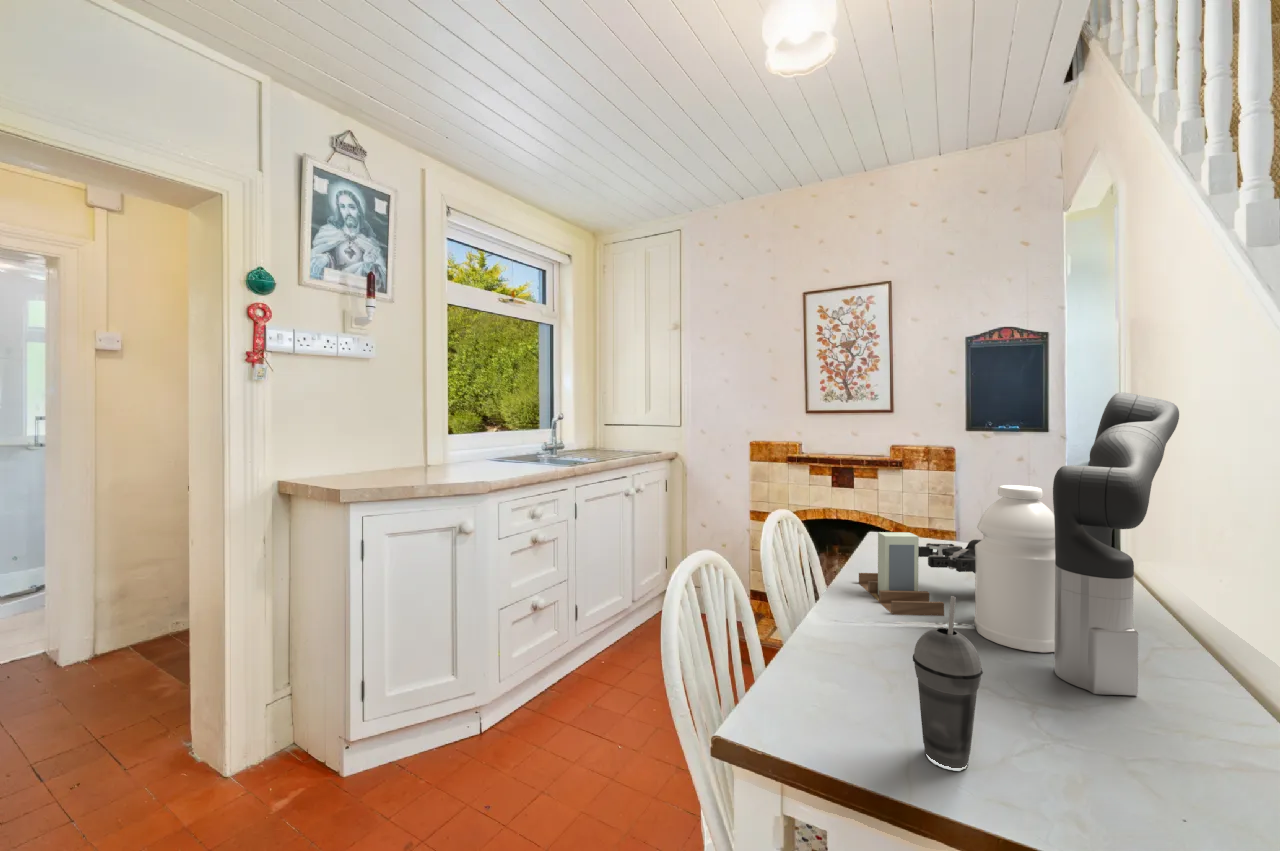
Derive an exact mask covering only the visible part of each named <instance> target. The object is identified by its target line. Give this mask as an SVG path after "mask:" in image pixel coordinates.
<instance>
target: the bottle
mask: <svg viewBox="0 0 1280 851" xmlns="http://www.w3.org/2000/svg"><path fill="white" fill-rule="evenodd" d="M997 495H998V496H1000V497H1001V498H999V499H997V500H995V501H994V502H993V503H992V504H991V505H990V506H989V507H988V508H986V510H985V511H984V512H983V514H982V515H981V516H980V519H979V520H978V523H977V525H976V528H977V530H978V531H979V532H980V533H981V534H983V536H982V537H983V538H981V539H980V540H981V541H980V542H978V543H977V544H976V545H975V573H974V574H975V575H974V576H975V577H974V579H975V581H974V582H975V583H974V586H975V588H974V589H975V590H974V592H975V593H974V598H975V601H974V602H975V604H974V606H975V610H974V615H975V616H974V618H973V621H974V626H975V630H976V631H977V633H978V634H979V635H981V636H982V637H984V638H985V639H986V640H989V641H991V642H994V643H996V644H998V645H1000V646H1005V647H1008V648H1011V649H1016V650H1021V651H1026V652H1033V653H1034V652H1035V653H1055V647H1054V637H1055V565H1056V564H1055V521H1054V511H1052V510H1051V508H1049V507H1048V506H1047V505H1046V504H1045V503H1044V502H1042V501H1041V499H1043V498H1044V491H1043V489H1042V488H1040V487H1037V486H1030V485H1018V484H1016V485H1015V484H1003V485H1000V486H999V487H998V490H997Z"/></svg>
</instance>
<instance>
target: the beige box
mask: <svg viewBox="0 0 1280 851" xmlns="http://www.w3.org/2000/svg"><path fill="white" fill-rule="evenodd" d="M919 538H920V537H919V536H918V535H916V534H914V533H912V532H905V531H904V532H903V531H902V532H900V531H898V532H893V531H892V532H890V531H885V532H884V531H882V532H881V531H878V532H877V573H878V595H879V590H892V591H919V557H918V550H919Z"/></svg>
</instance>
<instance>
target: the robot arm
mask: <svg viewBox="0 0 1280 851" xmlns="http://www.w3.org/2000/svg"><path fill="white" fill-rule="evenodd" d="M1179 420H1180V410H1179V408H1178V406H1177V405H1176V404H1175V403H1174V402H1171V401H1168V400H1164V399H1161V398H1155V397H1149V396H1144V395H1140V394H1139V395H1138V394H1133V393H1128V392H1117V393H1115V394H1113V395H1112V396H1111V398H1110V399H1109V400H1108V402H1107V404H1106V406H1105V407H1104V410H1103V412H1102V416H1101V418H1100V422H1099V425H1098V428H1097V432H1096V435H1095V438H1094V442H1093V444H1092V445H1091V448H1090V450H1089V463H1088V465H1064V466H1061V467H1059V469H1058V470H1057V471H1056V472H1055V474H1054V478H1053V483H1052V484H1053V485H1052V504H1053V505H1052V506H1053V513H1054V521H1055V564H1056V565H1055V637H1054V647H1055V652H1054V667H1053V668H1054V671H1053V672H1054V673H1055V675H1056V676H1057V677H1058V678H1060V679H1061V680H1063V681H1065V682H1066V683H1068V684H1071V685H1073V686H1075V687H1078V688H1080V689H1084V690H1086V691H1088V692H1090V693H1092V694H1094V695H1110V696H1113V695H1114V696H1138V695H1139V638H1140V637H1139V632H1138V631H1137V630H1135V629H1134V588H1135V587H1134V583H1135V582H1134V580H1135V579H1134V577H1135V575H1134V574H1135V564H1134V560H1133V558H1132V557H1131V556H1130V555H1129V554H1128V553H1126V552H1125V551H1121V550H1119V549H1117V548H1114V547H1112V543H1113V540H1112V536H1113V530H1131V529H1135V528H1138V527H1139V526H1140V525H1141V523H1143V522H1144V519H1145V518H1146V515H1147V512H1148V510H1149V509H1148V508H1149V504H1150V499H1151V498H1150V496H1151V489H1152V484H1153V481H1154V478H1155V476H1156V473H1157V471H1158V470H1159V468H1160V466H1161V463H1162V461H1163V458H1164V455H1165V450H1166V446H1167V443H1168V442H1169V441H1170V439H1171V437H1172V436H1173V434H1174V433H1175V431H1176V428H1177V426H1178V424H1179ZM981 540H982V539H971V540H970V541H969V542H968V543H967V545H966V547H965V548H963V546H961V545H955V544H953V543H930V542H928V543H926V544H925V546H921V545H920V546H919V550H918V558H924V557H925V558H927V566H928V567H930V568H936V569H937V568H938V569H939V568H942V569H943V568H947V569H950V570H955V572H958V573H967V572H970V573H971V572H972V573H973V574H975V545H976V544H977V543H978V542H980V541H981ZM934 550H936V551H934Z"/></svg>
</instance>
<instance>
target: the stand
mask: <svg viewBox="0 0 1280 851" xmlns="http://www.w3.org/2000/svg"><path fill="white" fill-rule="evenodd" d="M858 584H859V586H861V587H862V588H863V589H864V590H865V591H867V593H868V594H869V595H871V596H872V597H873V598H874V599H875V600H876V601H877V602H878V603H879V604H880V605H882V606H883V608H885V609H886V610H887V611H888V612H889V613H890V614H891V615H897V616H898V615H899V616H930V617H931V616H939V617H940V616H941V617H945V602H943V601H930V592H929V591H928V590H927V591H926V590H918V591H892V590H879V595H878V572H872V573H871V572H858Z"/></svg>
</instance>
